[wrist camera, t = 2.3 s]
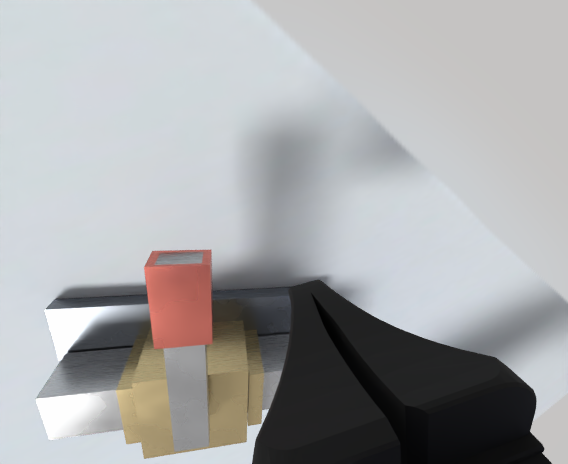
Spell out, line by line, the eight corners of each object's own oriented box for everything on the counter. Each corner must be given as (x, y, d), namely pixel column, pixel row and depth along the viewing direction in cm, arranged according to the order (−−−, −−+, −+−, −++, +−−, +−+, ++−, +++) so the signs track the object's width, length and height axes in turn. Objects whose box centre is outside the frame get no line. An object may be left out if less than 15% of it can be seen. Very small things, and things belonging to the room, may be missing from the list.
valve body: (317, 285, 20) (346, 335, 15) (305, 381, 23) (326, 446, 19) (54, 299, 17) (-9, 368, 12) (83, 409, 20) (41, 497, 15)
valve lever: (216, 425, 16) (215, 457, 14) (173, 431, 15) (168, 465, 14) (211, 246, 12) (210, 264, 10) (154, 247, 11) (144, 267, 10)
